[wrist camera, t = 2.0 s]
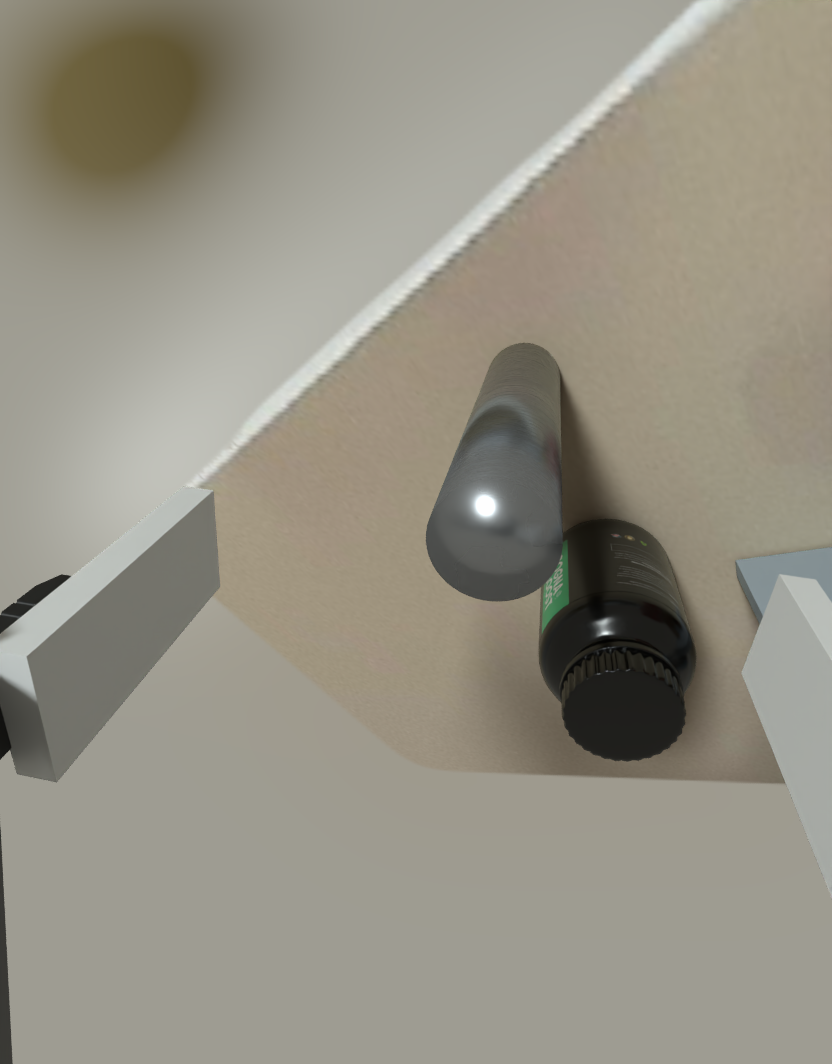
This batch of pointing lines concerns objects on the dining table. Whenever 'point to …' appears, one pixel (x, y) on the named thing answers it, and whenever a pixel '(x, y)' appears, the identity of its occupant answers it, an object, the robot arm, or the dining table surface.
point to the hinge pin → (504, 484)
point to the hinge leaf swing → (763, 572)
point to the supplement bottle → (616, 641)
